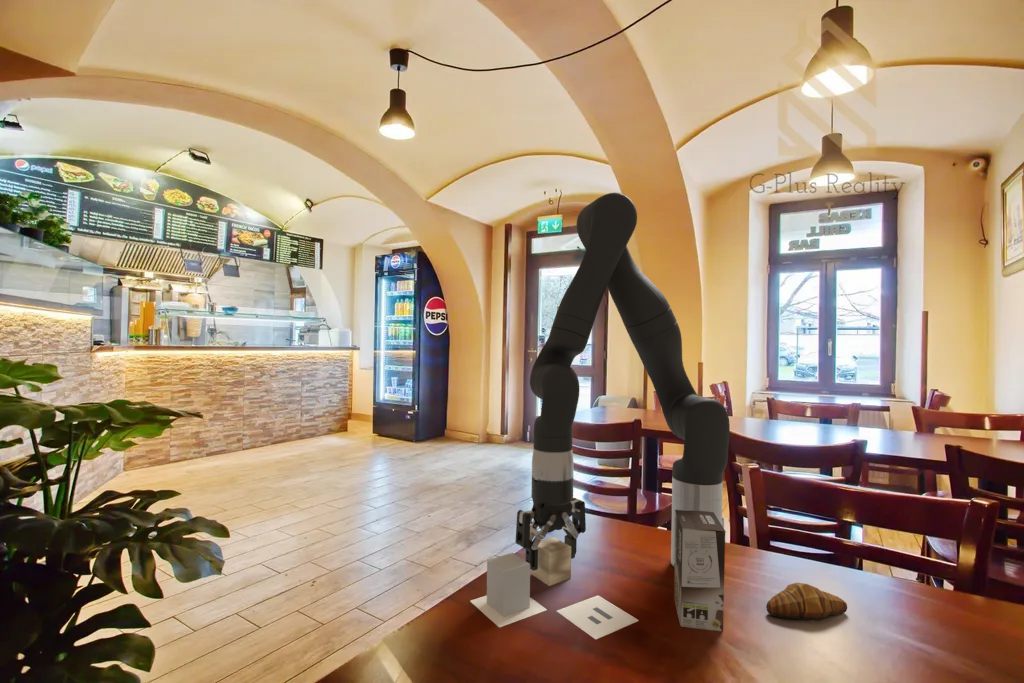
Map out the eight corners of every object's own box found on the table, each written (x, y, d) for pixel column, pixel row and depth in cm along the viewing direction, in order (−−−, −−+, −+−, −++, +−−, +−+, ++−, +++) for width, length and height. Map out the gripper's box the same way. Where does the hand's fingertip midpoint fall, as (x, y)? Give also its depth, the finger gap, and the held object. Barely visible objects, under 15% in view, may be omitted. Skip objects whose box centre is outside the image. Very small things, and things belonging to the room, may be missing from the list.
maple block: (553, 574, 95) (553, 537, 95) (570, 585, 91) (571, 546, 91) (531, 581, 92) (532, 543, 92) (548, 593, 88) (549, 553, 88)
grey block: (512, 594, 85) (512, 552, 85) (529, 607, 81) (530, 564, 81) (486, 602, 82) (487, 559, 82) (503, 617, 78) (503, 571, 78)
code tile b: (515, 593, 88) (515, 586, 88) (547, 617, 80) (547, 609, 80) (469, 608, 83) (469, 600, 83) (499, 635, 75) (499, 627, 75)
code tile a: (597, 602, 85) (597, 595, 85) (638, 628, 78) (639, 620, 78) (556, 618, 80) (556, 610, 80) (595, 647, 73) (595, 639, 73)
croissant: (829, 601, 87) (829, 572, 87) (860, 623, 80) (861, 592, 80) (754, 605, 85) (755, 575, 85) (780, 628, 78) (781, 596, 78)
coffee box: (725, 640, 75) (726, 531, 75) (679, 634, 76) (681, 527, 76) (713, 607, 84) (715, 510, 84) (672, 603, 85) (674, 507, 85)
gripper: (569, 463, 99) (568, 546, 99) (508, 474, 91) (507, 564, 91) (596, 472, 92) (594, 561, 93) (533, 484, 84) (531, 581, 85)
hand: (551, 562), depth 92 cm, fingers open, 8 cm apart
